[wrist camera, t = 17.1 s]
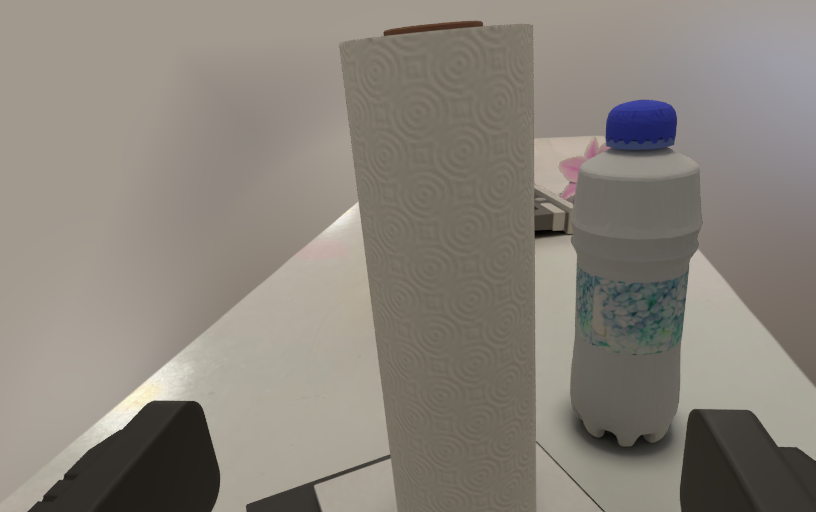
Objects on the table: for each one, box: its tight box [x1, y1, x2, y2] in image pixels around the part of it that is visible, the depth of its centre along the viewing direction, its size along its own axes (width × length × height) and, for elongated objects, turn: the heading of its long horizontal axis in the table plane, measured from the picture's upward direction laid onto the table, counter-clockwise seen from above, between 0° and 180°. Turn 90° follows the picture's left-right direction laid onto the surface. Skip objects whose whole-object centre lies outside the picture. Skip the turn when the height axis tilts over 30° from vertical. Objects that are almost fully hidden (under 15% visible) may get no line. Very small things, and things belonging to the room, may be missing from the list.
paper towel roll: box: [339, 21, 536, 512], centre depth 21 cm, size 7×6×21 cm
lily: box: [558, 137, 611, 200], centre depth 80 cm, size 12×12×10 cm
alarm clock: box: [534, 183, 573, 234], centre depth 75 cm, size 17×5×16 cm
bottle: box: [570, 100, 703, 447], centre depth 31 cm, size 7×7×20 cm
